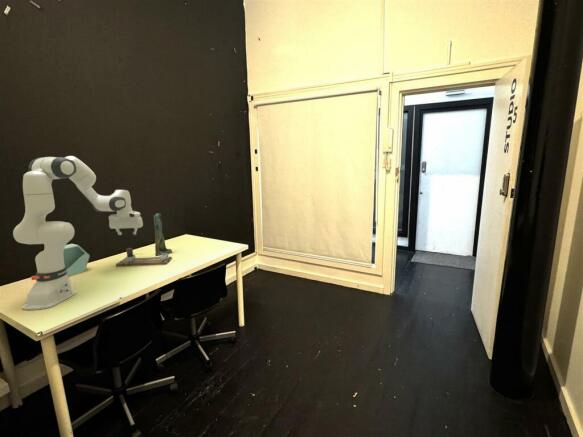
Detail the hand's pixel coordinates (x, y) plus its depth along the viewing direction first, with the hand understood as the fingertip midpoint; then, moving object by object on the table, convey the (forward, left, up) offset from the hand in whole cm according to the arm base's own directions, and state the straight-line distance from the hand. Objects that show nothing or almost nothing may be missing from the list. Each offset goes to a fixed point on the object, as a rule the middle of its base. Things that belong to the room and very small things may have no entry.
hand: (127, 234), depth 200 cm
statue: (+19, -15, -20) cm, 32 cm away
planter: (-15, +29, -20) cm, 38 cm away
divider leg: (-1, 0, -18) cm, 18 cm away
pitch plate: (0, -9, -20) cm, 22 cm away
